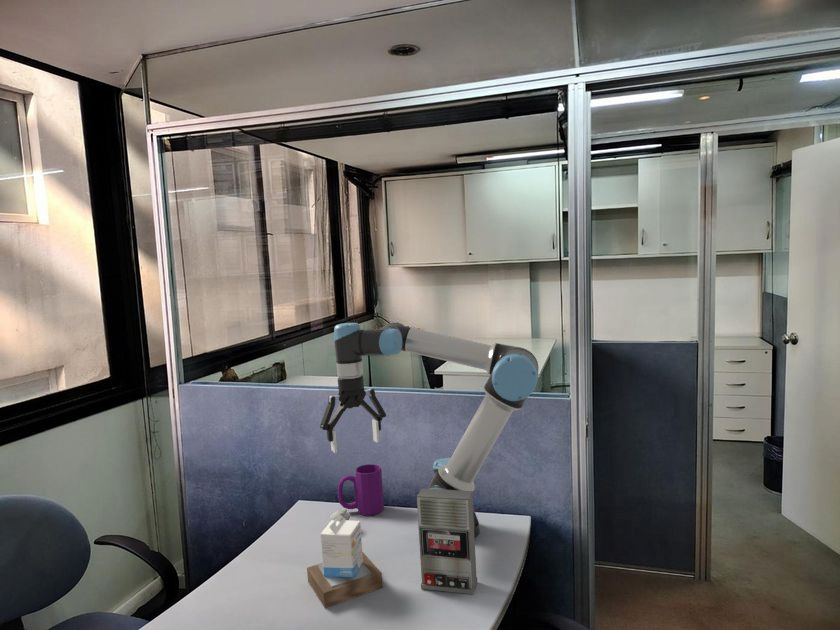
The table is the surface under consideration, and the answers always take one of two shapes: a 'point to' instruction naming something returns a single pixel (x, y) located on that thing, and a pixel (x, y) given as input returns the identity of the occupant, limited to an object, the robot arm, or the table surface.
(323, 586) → the walnut base
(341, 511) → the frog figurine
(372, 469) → the mug
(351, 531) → the ink box
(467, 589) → the cassette tape recorder
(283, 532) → the table surface
